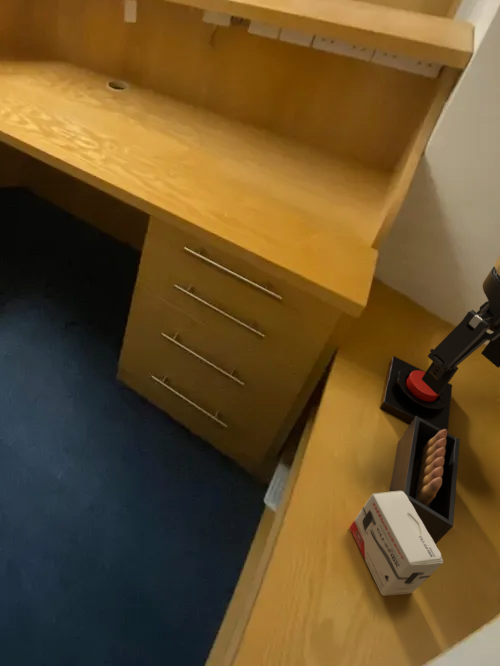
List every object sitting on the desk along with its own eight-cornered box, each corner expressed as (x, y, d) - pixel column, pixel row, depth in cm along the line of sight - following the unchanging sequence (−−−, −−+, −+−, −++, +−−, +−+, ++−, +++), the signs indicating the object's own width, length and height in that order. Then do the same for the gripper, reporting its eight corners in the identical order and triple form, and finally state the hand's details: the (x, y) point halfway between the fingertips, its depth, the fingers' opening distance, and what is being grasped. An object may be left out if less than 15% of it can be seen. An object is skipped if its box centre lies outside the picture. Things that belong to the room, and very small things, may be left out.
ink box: (347, 526, 80) (372, 491, 74) (376, 523, 81) (404, 488, 74) (381, 597, 73) (412, 565, 67) (413, 594, 73) (447, 561, 67)
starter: (389, 362, 104) (396, 350, 102) (447, 391, 99) (456, 379, 97) (379, 408, 96) (387, 396, 94) (442, 442, 91) (451, 430, 89)
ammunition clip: (412, 458, 88) (440, 421, 82) (424, 465, 87) (453, 428, 81) (403, 515, 81) (433, 479, 75) (416, 524, 80) (448, 488, 74)
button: (407, 371, 99) (411, 365, 98) (438, 386, 96) (442, 380, 95) (404, 391, 95) (408, 384, 94) (435, 407, 93) (440, 401, 92)
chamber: (439, 464, 88) (459, 439, 84) (429, 550, 78) (453, 526, 73) (398, 441, 91) (416, 415, 87) (384, 520, 81) (403, 496, 76)
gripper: (493, 329, 64) (426, 421, 75) (615, 278, 71) (539, 369, 82) (436, 284, 70) (383, 376, 81) (554, 241, 77) (491, 331, 88)
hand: (461, 372), depth 81 cm, fingers open, 13 cm apart
